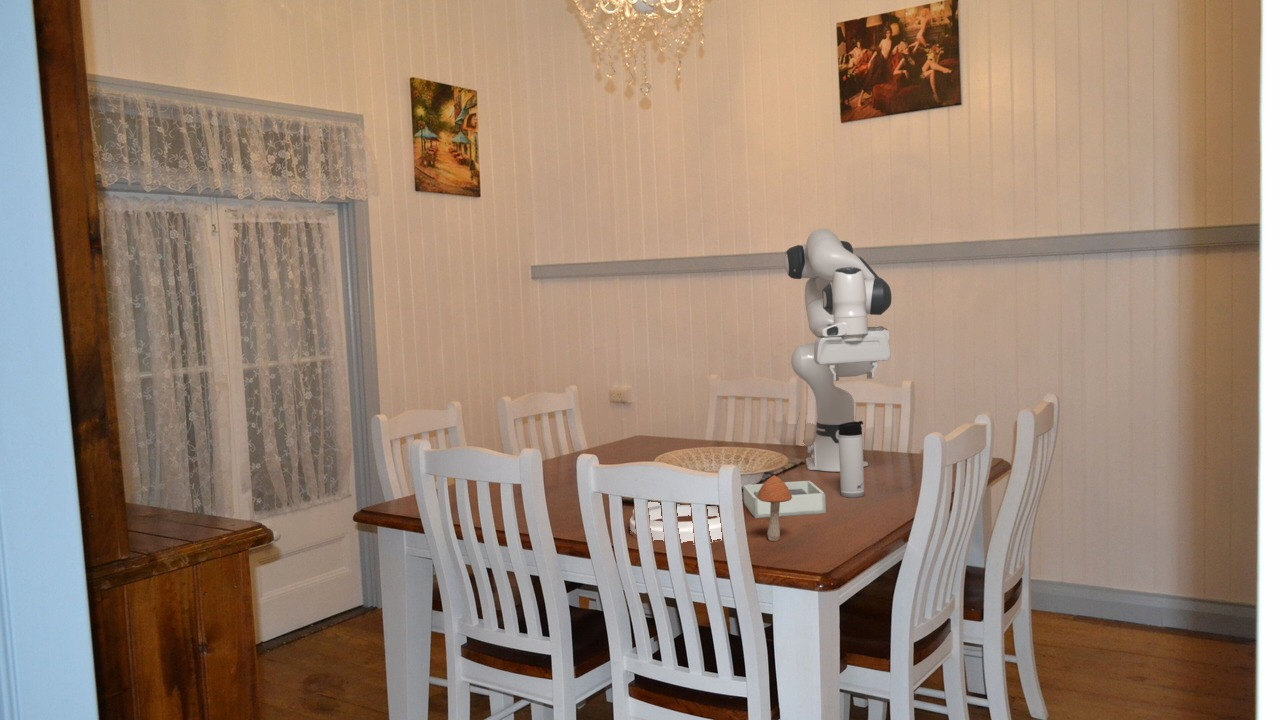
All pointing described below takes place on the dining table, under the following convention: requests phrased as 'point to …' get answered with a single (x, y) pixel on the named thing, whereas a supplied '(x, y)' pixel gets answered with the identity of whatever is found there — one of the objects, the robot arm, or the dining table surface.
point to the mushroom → (774, 503)
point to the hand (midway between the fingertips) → (853, 379)
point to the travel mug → (851, 459)
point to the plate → (684, 527)
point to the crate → (802, 502)
